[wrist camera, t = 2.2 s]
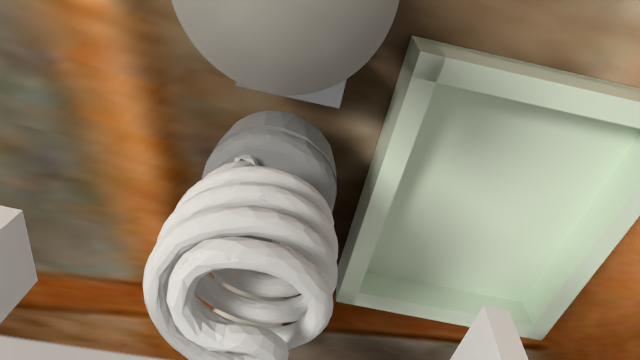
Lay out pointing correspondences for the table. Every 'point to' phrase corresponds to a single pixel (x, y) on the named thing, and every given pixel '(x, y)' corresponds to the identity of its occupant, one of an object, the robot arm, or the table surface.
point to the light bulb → (250, 245)
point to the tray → (492, 189)
